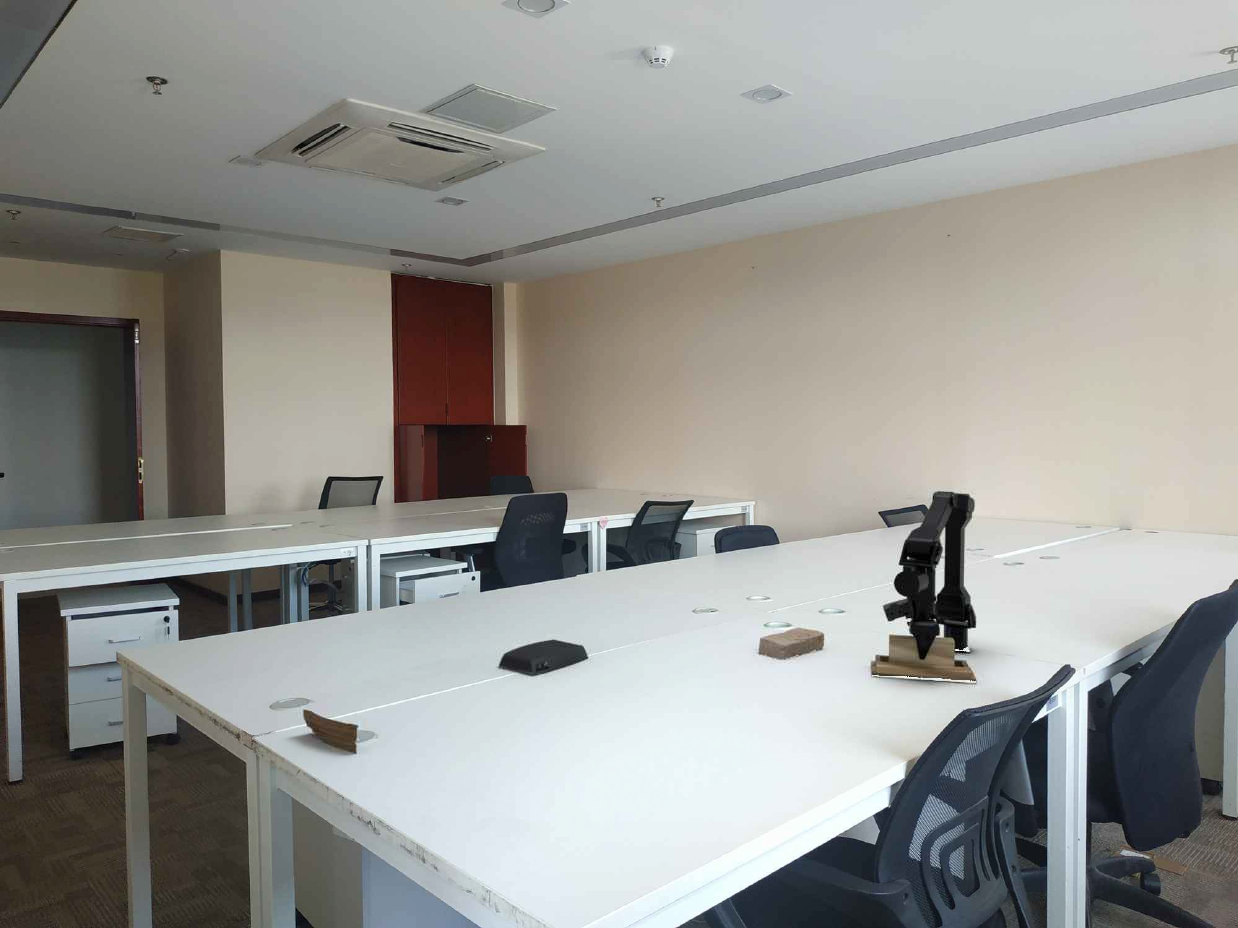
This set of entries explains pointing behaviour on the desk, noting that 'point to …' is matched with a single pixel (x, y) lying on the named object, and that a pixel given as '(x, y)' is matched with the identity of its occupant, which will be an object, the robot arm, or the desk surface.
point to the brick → (791, 643)
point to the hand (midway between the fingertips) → (921, 657)
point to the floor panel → (921, 669)
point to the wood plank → (332, 731)
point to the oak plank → (907, 651)
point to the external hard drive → (542, 657)
